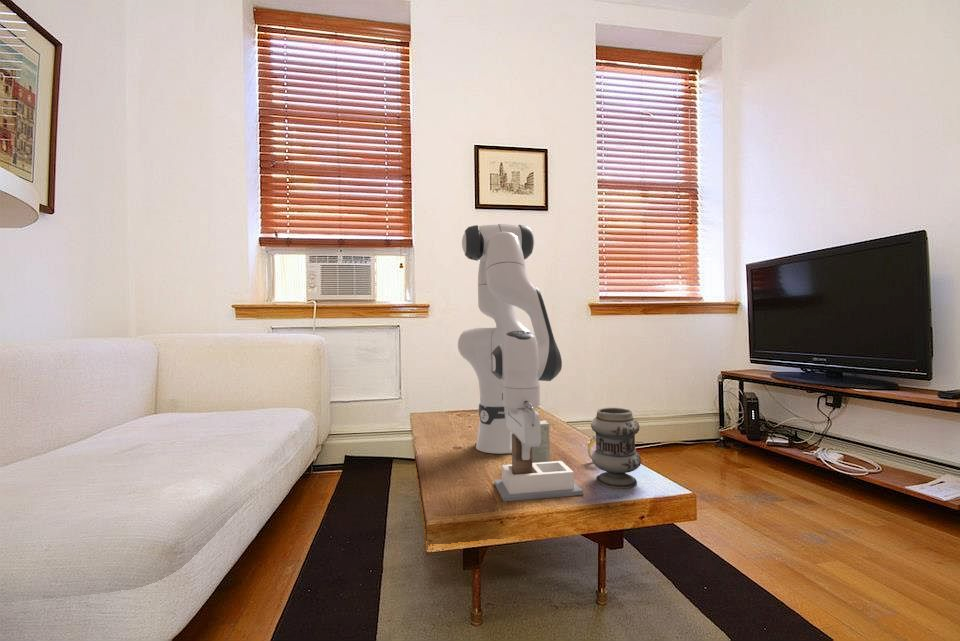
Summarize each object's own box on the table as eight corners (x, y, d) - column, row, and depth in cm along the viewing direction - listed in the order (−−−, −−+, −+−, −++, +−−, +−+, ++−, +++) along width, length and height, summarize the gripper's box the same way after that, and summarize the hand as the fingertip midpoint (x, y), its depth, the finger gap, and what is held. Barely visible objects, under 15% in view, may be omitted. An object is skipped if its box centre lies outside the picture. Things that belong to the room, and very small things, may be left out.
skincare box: (547, 462, 124) (546, 420, 124) (550, 467, 119) (549, 423, 119) (526, 462, 124) (525, 420, 124) (528, 467, 119) (527, 424, 119)
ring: (588, 464, 121) (588, 436, 121) (585, 460, 125) (584, 433, 125) (612, 463, 122) (612, 435, 122) (608, 459, 125) (608, 432, 125)
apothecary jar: (600, 469, 117) (599, 403, 117) (647, 478, 110) (645, 408, 110) (584, 483, 107) (583, 411, 107) (634, 494, 100) (632, 417, 100)
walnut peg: (528, 473, 105) (527, 432, 105) (532, 479, 101) (532, 437, 102) (512, 474, 105) (511, 433, 105) (516, 480, 101) (515, 437, 101)
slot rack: (503, 501, 97) (503, 479, 97) (494, 483, 108) (494, 463, 108) (583, 494, 100) (582, 473, 100) (566, 478, 111) (565, 458, 111)
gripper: (547, 405, 94) (548, 468, 93) (523, 391, 114) (524, 443, 114) (519, 406, 93) (520, 470, 92) (500, 392, 113) (500, 445, 113)
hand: (522, 455), depth 103 cm, fingers closed on walnut peg, 4 cm apart
